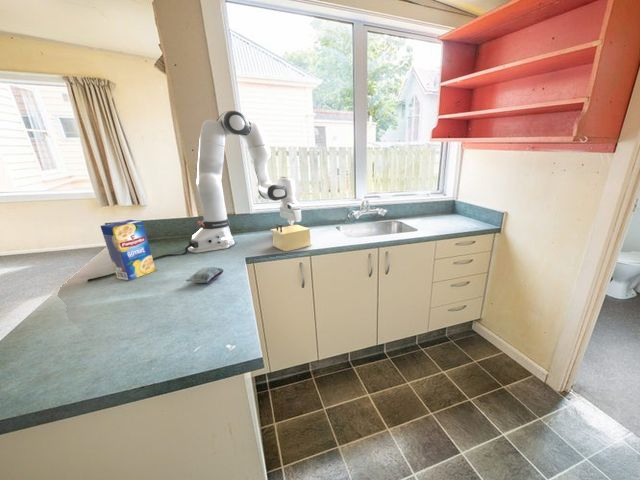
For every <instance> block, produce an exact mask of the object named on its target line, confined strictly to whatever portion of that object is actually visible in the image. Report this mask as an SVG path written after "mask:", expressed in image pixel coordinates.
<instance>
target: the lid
mask: <svg viewBox="0 0 640 480" xmlns="http://www.w3.org/2000/svg"><path fill="white" fill-rule="evenodd" d="M274 226H275V228H271V229H270V232H271V233H272V232H274V233H277V234H279V235H281V236H283V235H288V234H293V233H298V232H303V231H308V230H310V229H311V228H309V227H306V226H303V225H300V224H293V225H292V226H289V225H288V226H283V225H282V224H280V223H277V222H276V223H275V224H274ZM310 231H311V230H310Z"/></svg>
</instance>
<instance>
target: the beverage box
mask: <svg viewBox="0 0 640 480" xmlns="http://www.w3.org/2000/svg"><path fill="white" fill-rule="evenodd" d="M100 229H101V233H102V235H103V238H104V242H105V244H106V248H107V251H108V254H109V257H110V260H111V264H112V266H113V270H114V273H116V275H115V276H116V278H117V279H119V280H123V281H124V280H125V281H132V280H135V279H138V278H140V277H142V276H145V275H148V274H150V273H153V272H155V271H157V270H156V266H155V262H154V260H153V258H154V257H153V256H152V251H151V247H150V244H149V239H148V236H147V233H146V230H145V225H144V222H143V220H136V219H128V220H123V221H117V222H112V223H107V224H103V225H100Z"/></svg>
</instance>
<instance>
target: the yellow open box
mask: <svg viewBox="0 0 640 480" xmlns="http://www.w3.org/2000/svg"><path fill="white" fill-rule="evenodd" d="M271 236H272V243H273V247H275V248H277V249H278V250H281V251H283V252H289V251H294V250H298V249H302V248H306V247H310V246H312V245H311V230H308V231H303V232H298V233H293V234H288V235H283V236H281V235H279V234H277V233H274V232H272V231H271Z"/></svg>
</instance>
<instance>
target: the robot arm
mask: <svg viewBox="0 0 640 480" xmlns="http://www.w3.org/2000/svg"><path fill="white" fill-rule="evenodd" d="M229 135H232V136H241V137H242V138H243V140H244V142H245V144H246V148H247V151H248V153H249V156H250V158H251V161H252V164H253V168H254V171H255V175H256V179H257V185H258V186H257V191H258V195H259V196H260V197H261V198H263V199H266V200H270V201H280V206H279V216H280V217H281V218H284V219H286V221H287V224H288V226H292V225H295V224H294V223H299V222H301V221H302V210H301V209H302V206H301V204H300V203H299V202H298V201H297V197H296V184H295V180H294V179H293V178H291V177H287V176H280V177H279V179H277V180H276V181H274V182H272V181H271V179H270V176H269V173H268V170H267V163H268V161H269V160H270V159H271V156H272V154H271V153H272V152H271V147H270V144H269V141H268V138H267V136H266V133H265V132H264V130H263V128H262V125H260V124H259V123H256V122H251V121H249V119H247V117H246V115H244V114H242V113H241V112H240V111H237V110H226V111H224V112H223V113H221V114H220V115H219V116H218V118H217V119H216V120H215V119H206V120H204V121H203V122H202V125H201V129H200V134H199V143H198V158H197V172H196V174H197V175H196V181H195V184H196V189H197V194H198V198H199V202H200V206H201V212H202V217H203V220H202V221H201V220H198V221H197V225H198V226H200V228H199V230H197V231H196V232H195V233H194V234H192V236H191V240H188V245H187V246H186V247H185V249H184V250H185V252H183V253H167V254H162V255H158V256H155V257H152V258H153V261H154V260H158V259H160V258H165V257H175V256H183V255H186V254H188V251H189V252H190V253H193V254H199V253H205V252H206V253H207V252H212V251H213V252H214V251H219V250H225V249H226V250H227V249H229V248H230V247H232V246H233V245H235V243H236V242H235V240H234V239H233V235H232V233H231V229H230V228H231V225H230V220H229V218H228V214H227V208H226V201H225V194H224V190H223V188H224V187H223V183H222V179H223V169H224V161H225V151H226V150H225V149H226V140H227V137H228V136H229ZM112 276H113V277H114V276H116V273H115V272H112V273H109V274H105V275H101V276H96V277H92V278H88V279H87V282H92V281H97V280H101V279H104V278H105V279H106V278H110V277H112Z"/></svg>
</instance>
